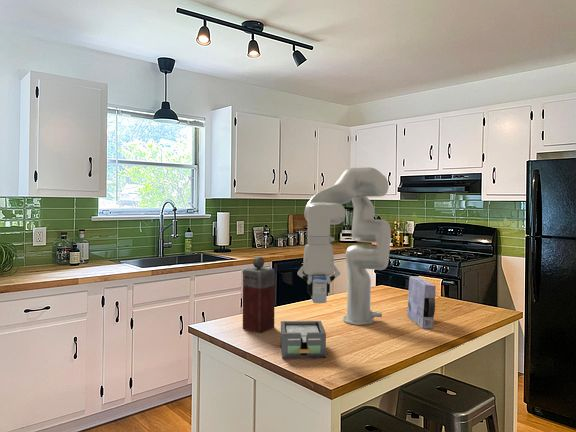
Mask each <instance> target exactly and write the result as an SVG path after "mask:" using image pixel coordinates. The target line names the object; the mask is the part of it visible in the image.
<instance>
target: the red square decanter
mask: <svg viewBox="0 0 576 432" xmlns="http://www.w3.org/2000/svg"><path fill="white" fill-rule="evenodd" d="M252 263H253V267H249V268H245V269H244V268H243V270H242V330H245V331H249V332H254V333H258V334H262V333H264V332H267V331H270V330H273V329H275V300H276V299H275V290H276V289H275V283H276V282H275V281H276V280H275V279H276V278H275V277H276V275H275V269H274V268H271V267H264V266H265V259H264V258H263V257H262V256H255V257H254V259H253V262H252Z"/></svg>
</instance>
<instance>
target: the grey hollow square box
mask: <svg viewBox="0 0 576 432" xmlns="http://www.w3.org/2000/svg"><path fill="white" fill-rule="evenodd" d="M286 325H317V328H318V331H319V332H307V338H306V342H302V338H301V332H300V333H286ZM326 332H327V331H326V330H325V328H324V326H323V323H322V321H321V320H292V321H291V320H282V321H280V348H281V352H280V353H281V359H284V360H287V359H326V358H327V333H326ZM299 349H309V353H299Z"/></svg>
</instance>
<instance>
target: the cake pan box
mask: <svg viewBox="0 0 576 432" xmlns="http://www.w3.org/2000/svg"><path fill="white" fill-rule="evenodd" d="M408 279H409V281H408V294H407V296H408V297H407V314H406V316H407V317H408V318H409V319H410V320H411V321H412V322H413V323H415V324H416V325H418V326H419V328H421V329H422V330H434V321H435V320H434V316H435V314H436V313H435V312H436V288H437V287H436V285H435V284H433V283H431V282H429V281H428V280H425V279H424V278H422V277H420V276H413V275H412V276H411V275H410V276H409V277H408Z"/></svg>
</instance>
